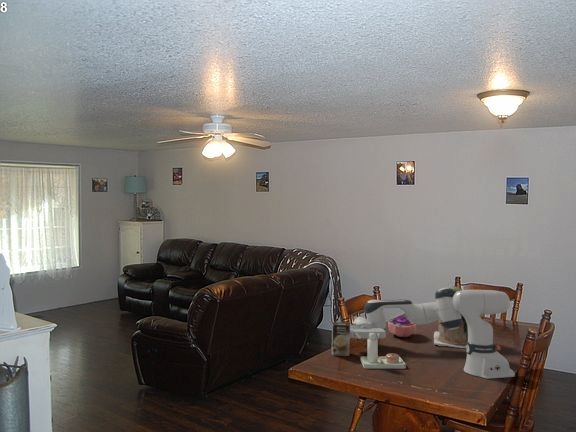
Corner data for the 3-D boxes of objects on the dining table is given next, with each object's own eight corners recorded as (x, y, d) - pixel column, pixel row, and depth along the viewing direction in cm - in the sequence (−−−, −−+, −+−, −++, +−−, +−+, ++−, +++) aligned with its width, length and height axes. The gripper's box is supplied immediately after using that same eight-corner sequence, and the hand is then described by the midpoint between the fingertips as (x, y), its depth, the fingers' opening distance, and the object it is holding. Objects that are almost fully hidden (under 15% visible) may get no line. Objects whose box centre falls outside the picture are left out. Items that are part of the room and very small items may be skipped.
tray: (399, 360, 257) (399, 356, 257) (405, 368, 245) (405, 364, 245) (360, 360, 257) (360, 356, 256) (364, 368, 245) (364, 363, 244)
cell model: (386, 339, 295) (386, 320, 294) (388, 330, 314) (388, 312, 314) (416, 341, 291) (416, 322, 290) (416, 332, 310) (416, 314, 310)
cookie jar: (433, 346, 283) (434, 289, 281) (433, 334, 306) (434, 282, 305) (480, 350, 276) (482, 291, 274) (477, 338, 299) (478, 284, 298)
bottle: (376, 360, 253) (376, 332, 253) (378, 363, 248) (378, 335, 248) (366, 360, 253) (366, 332, 253) (368, 363, 248) (368, 335, 248)
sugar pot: (397, 362, 254) (397, 351, 254) (400, 366, 248) (400, 355, 247) (384, 362, 254) (384, 351, 254) (387, 366, 248) (387, 355, 247)
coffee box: (331, 355, 264) (332, 324, 263) (331, 351, 270) (331, 321, 270) (349, 356, 264) (350, 325, 263) (348, 352, 270) (349, 322, 269)
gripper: (383, 336, 275) (388, 343, 261) (345, 335, 275) (348, 343, 261) (383, 324, 275) (388, 331, 261) (345, 324, 274) (348, 331, 261)
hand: (368, 337), depth 261 cm, fingers open, 8 cm apart
